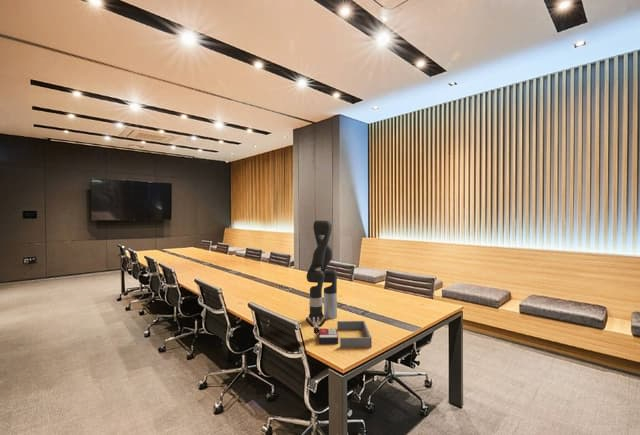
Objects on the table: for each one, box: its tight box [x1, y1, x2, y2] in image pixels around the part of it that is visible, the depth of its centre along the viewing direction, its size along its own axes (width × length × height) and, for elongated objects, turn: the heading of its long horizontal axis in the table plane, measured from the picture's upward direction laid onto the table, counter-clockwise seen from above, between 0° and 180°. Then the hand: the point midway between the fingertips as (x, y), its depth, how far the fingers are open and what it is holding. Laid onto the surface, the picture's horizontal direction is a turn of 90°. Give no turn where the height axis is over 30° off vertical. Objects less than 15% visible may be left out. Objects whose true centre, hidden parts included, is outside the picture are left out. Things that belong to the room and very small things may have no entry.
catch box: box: [336, 320, 373, 349], centre depth 176 cm, size 26×17×5 cm, turn 0°
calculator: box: [318, 328, 339, 345], centre depth 175 cm, size 11×4×15 cm
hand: (316, 333), depth 176 cm, fingers closed
